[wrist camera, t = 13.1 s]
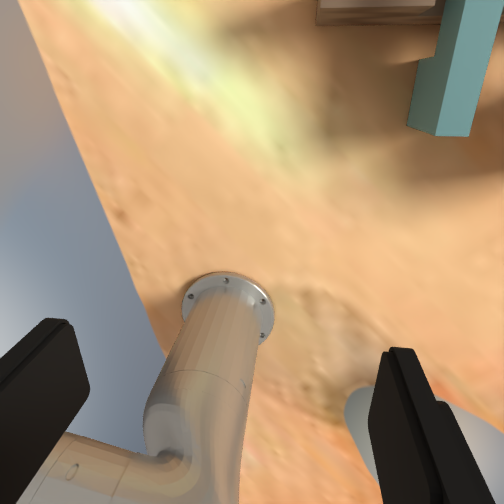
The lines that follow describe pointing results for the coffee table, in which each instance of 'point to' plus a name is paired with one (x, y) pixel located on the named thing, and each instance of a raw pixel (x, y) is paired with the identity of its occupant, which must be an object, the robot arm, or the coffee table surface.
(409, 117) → the teal plate
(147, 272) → the coffee table surface
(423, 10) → the brown flat notched block
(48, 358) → the robot arm
